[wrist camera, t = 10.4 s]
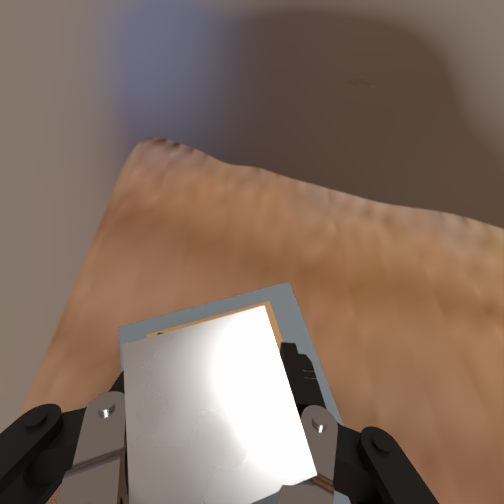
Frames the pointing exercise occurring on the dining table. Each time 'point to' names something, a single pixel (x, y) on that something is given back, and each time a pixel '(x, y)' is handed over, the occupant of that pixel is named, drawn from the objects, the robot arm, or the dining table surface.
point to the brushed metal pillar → (211, 415)
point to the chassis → (282, 324)
